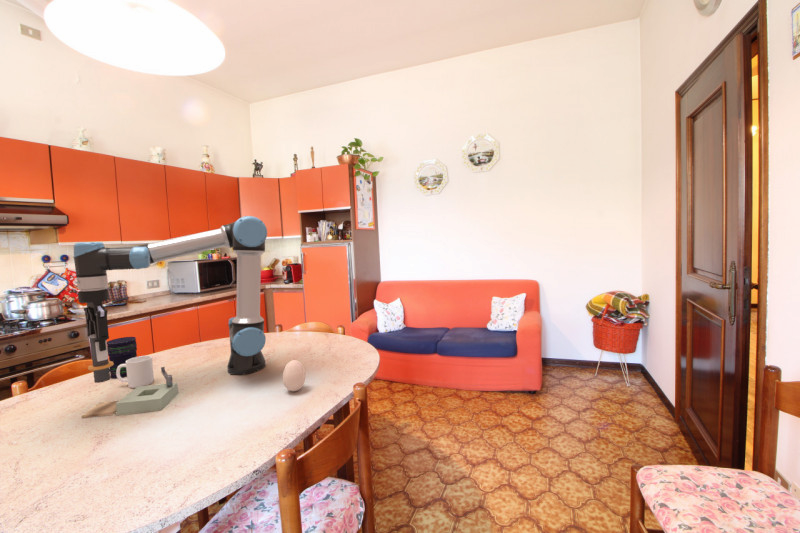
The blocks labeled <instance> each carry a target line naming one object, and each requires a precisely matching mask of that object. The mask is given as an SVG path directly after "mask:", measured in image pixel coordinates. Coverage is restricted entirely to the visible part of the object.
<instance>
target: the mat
mask: <svg viewBox="0 0 800 533" xmlns="http://www.w3.org/2000/svg"><path fill="white" fill-rule="evenodd" d="M118 401H119V400H115V401H114V400H113V401H104V402H99V403H97V404H96V405H95V406H93V407H92V408H90V409H89V410H88V411H86V412H84V413H83V414H82V415H81V419H85V418H93V417H102V416H103V417H104V416H113V415H115V414H117V412H116V403H117V402H118Z"/></svg>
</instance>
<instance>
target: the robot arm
mask: <svg viewBox="0 0 800 533" xmlns="http://www.w3.org/2000/svg"><path fill="white" fill-rule="evenodd" d="M267 236H268V228H267V226H266V224H265V223H264V221H262V220H261V219H260V218H259V217H257V216H252V215H245V216H241V217H240V218H238V219H237V220H235V221H233V222H231V223H228V224H223V225H221V226H220V228H216V229H211V230H207V231H201V232H197V233H193V234H192V233H191V234H186V235H182V236H177V237H173V238H168V239H164V240H158V241H154V242H149V243H144V244H139V245H135V246H134V245H133V246H123V247H105V245H104V242H102V241H91V242H90V241H89V242H88V241H87V242H76V243H74V245H73V261H74V268H75V269H74V270H75V277H76V280H74V284H76V288H77V290H78V292H77V298H78V302H79V303H81V304H86V306H85V307H83V311H84V315H85V316H84V317H85V324H86V332H87V335H86V336H87V337H89V338H88V339H90V335H93V334H95V335H96V340H95V341H94V343H95V345H96V354H97V361H98V362H99V361H103V360H107V359H108V360H109V356H108V350H107V342H108V341H107V340H109V339H110V336H109V324H108V310H107V309H106V308H105V306H104V303H103V302H104V301H108V300H109V299H110V292H109V289H108V287H109V282H108V275H107V272H108V271H116V270H117V271H119V270H123V271H124V270H140V269H148V268H150V266H151V264H155V263H159V262H164V261H168V260H173V259H176V258H181V257H186V256H189V255H194V254H198V253H204V252H207V251H211V250H215V249H220V248H224V247H226V248H229V249H231V248H232V252H234V254H236V309H235V310H236V313H235V314H236V315H235V316H234V317H233V316H232V317H230V318H229V319H228V324H227V325H228V333H229V346H230V355H229V360H228V362H227V366H226V367H227V368H226V370H227V372H228V374H230V375H235V376H236V375H237V376H239V375H240V376H241V375H248V374H252V373H256V372H258V371H261V370H263V369H264V368H265V367H266V359H265V357H264V354H263V352H262V350H264V349H263V348H264V347H265V345H266V339H267V338H266V334H265V319H264V317H262V316H261V280H262V278H261V277H262V276H261V273H262V272H261V271H262V269H261V268H262V266H261V264H262V255H263V254H264V253H266V240H267Z"/></svg>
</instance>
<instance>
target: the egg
mask: <svg viewBox="0 0 800 533" xmlns="http://www.w3.org/2000/svg"><path fill="white" fill-rule="evenodd" d="M306 378H307V377H306V370H305V368H304V365H303V364H302V363H301V362H300V361H299V360H296V359H292V360H290V361H288V363H287V364H286V365H285V366H284V369H283V372H282V382H283V385H284V387H285V388H286V389H287V390H288V391H290V392H298V391H299V390H301V389H302V387H303V386H304V385H305V382H306Z"/></svg>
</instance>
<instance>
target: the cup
mask: <svg viewBox="0 0 800 533" xmlns="http://www.w3.org/2000/svg"><path fill="white" fill-rule="evenodd" d="M153 366H154V365H153V357H152V355H141V356H140V355H139V356H137V357H134V358H131V359H128V360H127V361H126V364H121V365H119V366H118V367H117V370H116V375H117V378H118V379H117V380H119V381H120V382H122V383H127V386H128V387H129V388H132V389H135V388H137V387H140V386H150V385H152V384H153V383H154V380H155V375H154V367H153ZM121 367H126V370H127V377H126V378H121V376H120V369H121Z"/></svg>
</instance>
